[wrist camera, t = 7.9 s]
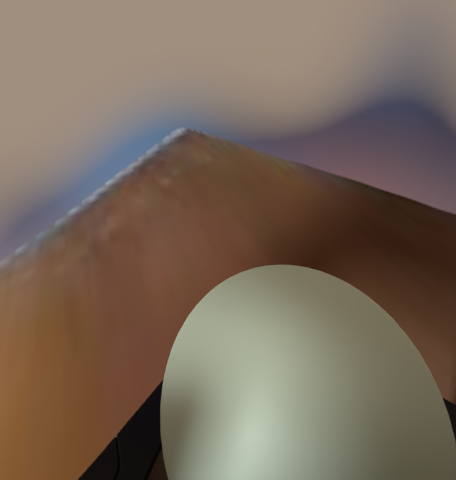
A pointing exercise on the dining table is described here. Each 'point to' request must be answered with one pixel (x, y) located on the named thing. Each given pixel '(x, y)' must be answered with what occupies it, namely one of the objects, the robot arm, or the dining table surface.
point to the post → (299, 387)
